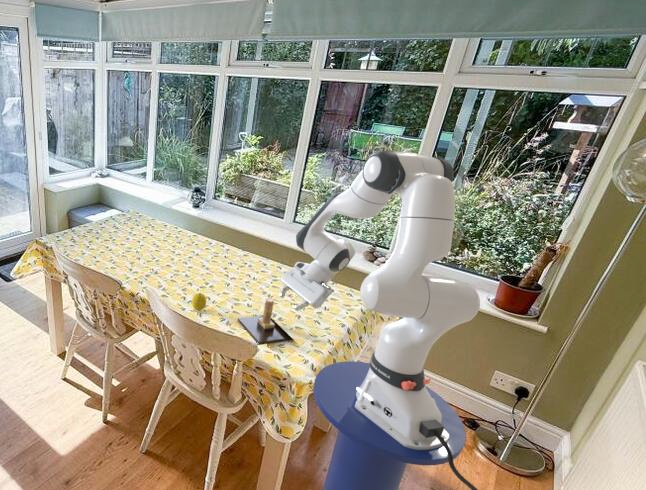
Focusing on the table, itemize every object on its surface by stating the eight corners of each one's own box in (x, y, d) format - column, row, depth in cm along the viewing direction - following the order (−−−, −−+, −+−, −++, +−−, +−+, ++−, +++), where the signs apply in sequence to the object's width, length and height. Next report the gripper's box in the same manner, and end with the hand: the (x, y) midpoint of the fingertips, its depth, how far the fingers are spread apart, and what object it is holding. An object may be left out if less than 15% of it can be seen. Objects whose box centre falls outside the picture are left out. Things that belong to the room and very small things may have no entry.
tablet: (308, 338, 148) (308, 335, 148) (258, 345, 143) (259, 342, 143) (283, 315, 162) (283, 312, 162) (237, 320, 158) (237, 317, 157)
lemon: (191, 313, 162) (192, 295, 159) (191, 305, 167) (193, 288, 164) (205, 314, 161) (207, 297, 158) (205, 307, 166) (207, 290, 163)
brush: (273, 330, 150) (278, 302, 146) (264, 331, 149) (268, 303, 145) (266, 323, 154) (271, 295, 150) (257, 324, 153) (261, 296, 149)
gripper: (339, 294, 141) (309, 322, 142) (302, 269, 159) (276, 294, 161) (330, 284, 138) (300, 312, 139) (294, 260, 157) (268, 285, 158)
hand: (287, 302), depth 150 cm, fingers open, 8 cm apart
